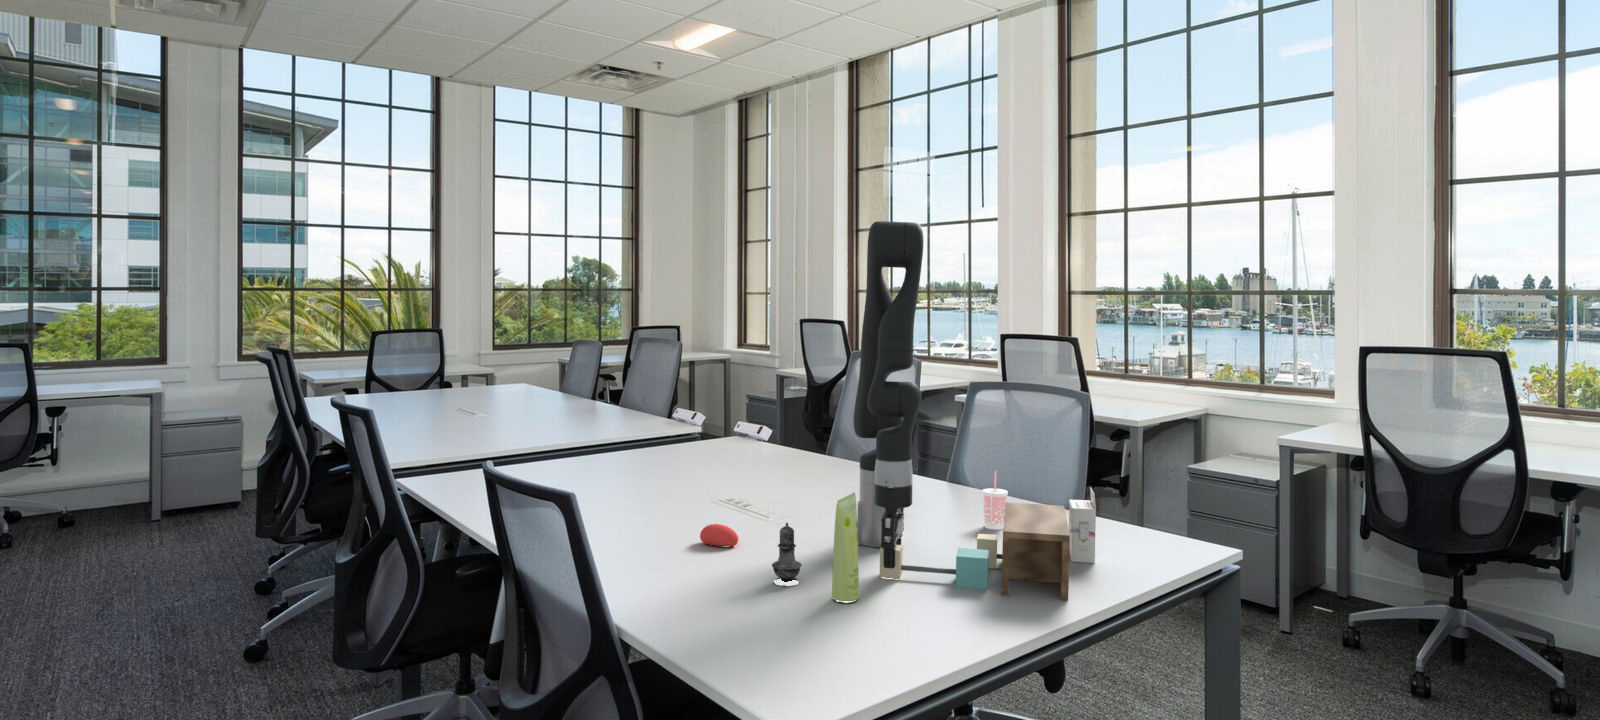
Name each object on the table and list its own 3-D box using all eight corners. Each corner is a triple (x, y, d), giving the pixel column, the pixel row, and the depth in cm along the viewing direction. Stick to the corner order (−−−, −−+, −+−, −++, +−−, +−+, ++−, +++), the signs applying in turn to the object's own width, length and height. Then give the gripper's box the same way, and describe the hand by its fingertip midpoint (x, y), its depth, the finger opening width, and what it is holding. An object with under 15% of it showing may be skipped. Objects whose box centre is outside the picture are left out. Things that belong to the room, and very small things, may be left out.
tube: (863, 604, 160) (864, 498, 159) (836, 606, 159) (837, 499, 158) (854, 594, 166) (855, 491, 164) (828, 596, 165) (829, 493, 163)
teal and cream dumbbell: (878, 580, 174) (879, 550, 174) (883, 571, 180) (883, 542, 179) (987, 589, 169) (987, 558, 169) (988, 579, 175) (988, 550, 174)
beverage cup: (1010, 526, 216) (1011, 469, 215) (1002, 531, 211) (1003, 474, 210) (986, 522, 219) (987, 467, 219) (977, 528, 214) (979, 471, 213)
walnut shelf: (1001, 594, 166) (1002, 531, 165) (1004, 558, 189) (1005, 502, 188) (1068, 600, 163) (1069, 535, 162) (1062, 562, 186) (1064, 505, 185)
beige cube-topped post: (976, 568, 182) (976, 539, 182) (977, 560, 188) (978, 532, 187) (1051, 574, 178) (1052, 545, 178) (1050, 565, 184) (1051, 537, 184)
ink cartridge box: (1067, 551, 195) (1068, 485, 194) (1090, 552, 194) (1092, 486, 193) (1070, 562, 187) (1072, 493, 186) (1095, 563, 186) (1097, 494, 185)
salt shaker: (779, 589, 168) (780, 527, 168) (766, 580, 174) (766, 520, 173) (806, 584, 171) (807, 523, 170) (793, 576, 176) (793, 517, 176)
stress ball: (718, 558, 193) (732, 533, 193) (690, 537, 198) (704, 512, 198) (730, 560, 198) (744, 536, 198) (703, 539, 203) (717, 515, 203)
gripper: (880, 473, 183) (879, 550, 184) (868, 487, 169) (867, 570, 170) (916, 475, 181) (915, 553, 182) (907, 489, 167) (906, 573, 168)
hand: (892, 561), depth 176 cm, fingers open, 8 cm apart
